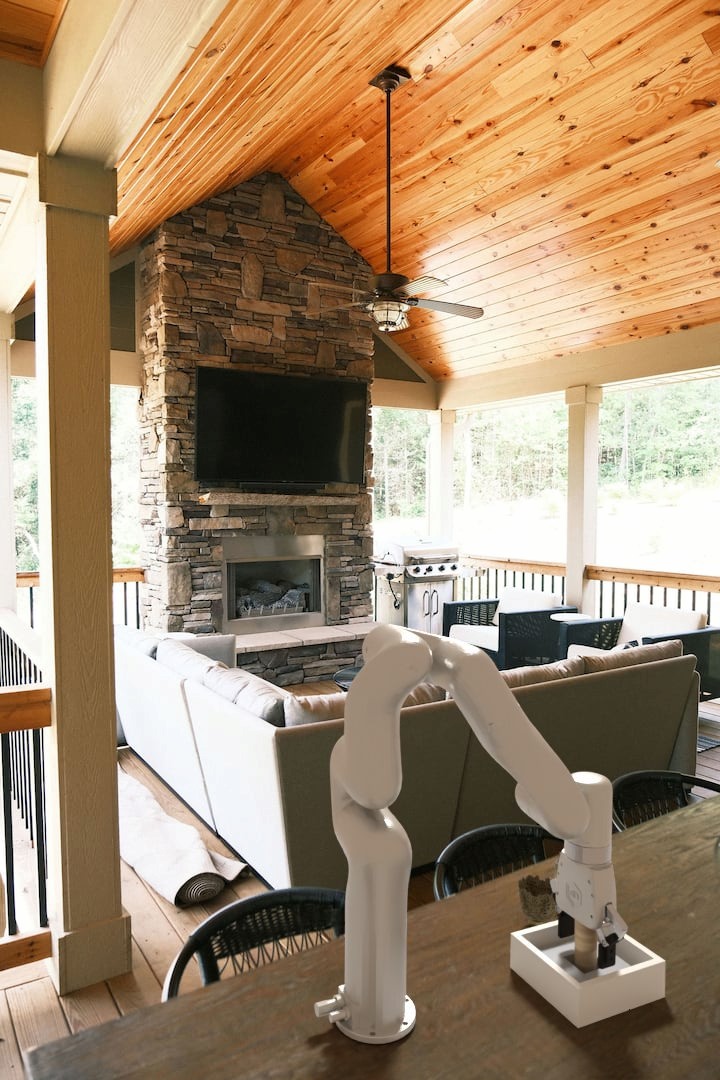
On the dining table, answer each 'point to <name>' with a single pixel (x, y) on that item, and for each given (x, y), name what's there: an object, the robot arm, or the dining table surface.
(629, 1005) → the box
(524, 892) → the cup
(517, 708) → the robot arm
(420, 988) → the dining table surface
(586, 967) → the peg
